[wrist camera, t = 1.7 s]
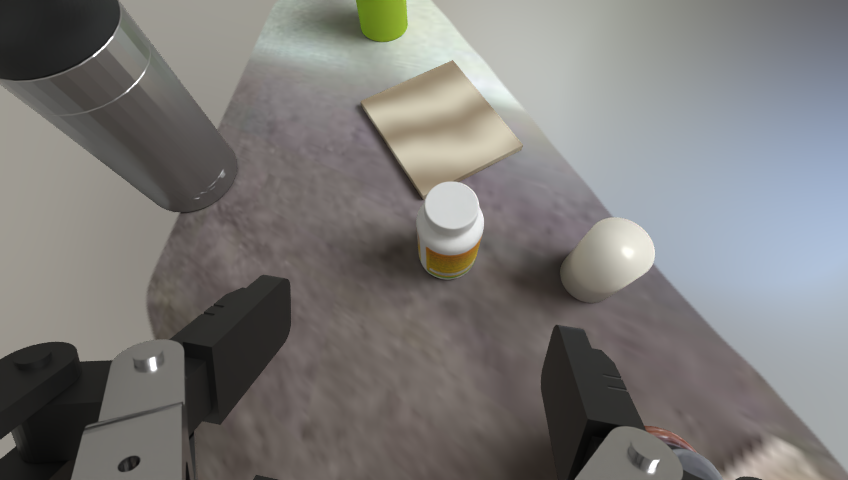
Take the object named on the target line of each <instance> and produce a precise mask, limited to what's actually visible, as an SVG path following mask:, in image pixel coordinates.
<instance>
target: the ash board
mask: <svg viewBox="0 0 848 480" xmlns="http://www.w3.org/2000/svg"><path fill="white" fill-rule="evenodd" d="M361 105H362V108H363V109H364V111H365V112H366V114H367V115H368V117H369V118H370V120H371V121H372V123H373V124H374V126H375V127H376V129H377V130H378V132H379V133H380V135H381V136H382V138H383V140H384V141H385V143H386V144H387V146H388V147H389V149H390V150H391V152H392V153H393V155H394V156H395V158H396V159H397V161H398V162H399V164H400V165H401V167H402V168H403V170H404V171H405V173H406V175H407V176H408V178H409V179H410V181H411V182H412V184H413V185H414V187H415V188H416V190H417V191H418V193H419V194H420V196H421V197H422V199H423V200H424V199H426V196H427V194H428V193H429V191H430V190H431V189H432V188H433V187H435V186H436V185H438V184H440V183H443V182H459V181H461V180H463V179H465V178H467V177H469V176H471V175H473V174H475V173H477V172H479V171H481V170H483V169H485V168H487V167H489V166H491V165H493V164H495V163H497V162H499V161H501V160H502V159H504V158H506V157H508V156H510V155H512V154H514V153H516V152H518V151H520V150H522V147H523V144H522V143H521V142H520V141H519V140H518V138H517V137H516V136H515V135H514V134H513V132H512V131H511V130H510V129H509V127H508V126H507V125H506V124H505V123H504V121H503V120H502V119H501V118H500V117H499V115H498V114H497V113H496V112H495V111H494V109H493V108H492V107H491V106H490V105H489V103H488V102H487V101H486V100H485V99H484V97H483V96H482V95H481V94H480V92H479V91H478V90H477V89H476V88H475V86H474V85H473V84H472V83H471V82H470V80H469V79H468V78H467V77H466V76H465V74H464V73H463V72H462V71H461V70H460V68H459V67H458V66H457V65H456V64H455V62H454V61H453V60H452V61H450V62H448V63H445V64H443V65H441V66H439V67H436V68H434V69H432V70H430V71H427V72H425V73H423V74H421V75H418V76H416V77H414V78H412V79H409V80H407V81H405V82H403V83H400V84H398V85H396V86H394V87H391V88H389V89H387V90H385V91H382V92H380V93H378V94H376V95H373V96H371V97H369V98H367V99H364V100H362V101H361Z"/></svg>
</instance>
